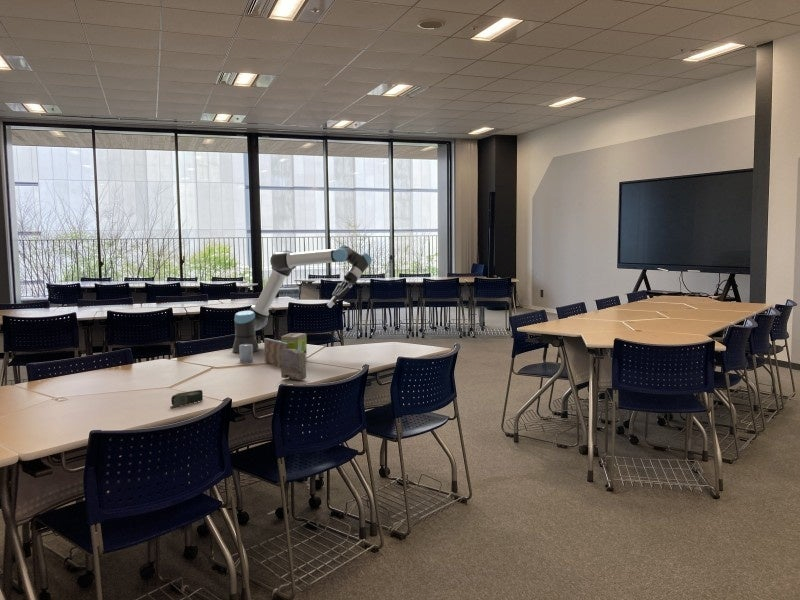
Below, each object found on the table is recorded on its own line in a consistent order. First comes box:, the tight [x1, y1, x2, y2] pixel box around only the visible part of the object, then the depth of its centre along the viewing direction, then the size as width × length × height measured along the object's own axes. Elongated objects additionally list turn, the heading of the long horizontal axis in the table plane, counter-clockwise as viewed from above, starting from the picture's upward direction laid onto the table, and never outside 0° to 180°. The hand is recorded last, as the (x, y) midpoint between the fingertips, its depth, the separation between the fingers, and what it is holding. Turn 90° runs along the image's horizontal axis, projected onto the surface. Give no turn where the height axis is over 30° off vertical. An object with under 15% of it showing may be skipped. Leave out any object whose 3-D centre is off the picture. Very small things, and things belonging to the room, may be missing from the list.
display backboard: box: [263, 337, 289, 367], centre depth 329 cm, size 24×2×13 cm, turn 39°
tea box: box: [280, 332, 308, 361], centre depth 338 cm, size 15×10×15 cm
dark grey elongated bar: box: [170, 389, 204, 409], centre depth 250 cm, size 5×3×15 cm
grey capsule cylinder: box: [239, 344, 254, 363], centre depth 340 cm, size 7×7×9 cm
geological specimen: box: [280, 349, 307, 381], centre depth 292 cm, size 11×6×15 cm, turn 61°
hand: (328, 306), depth 354 cm, fingers closed
